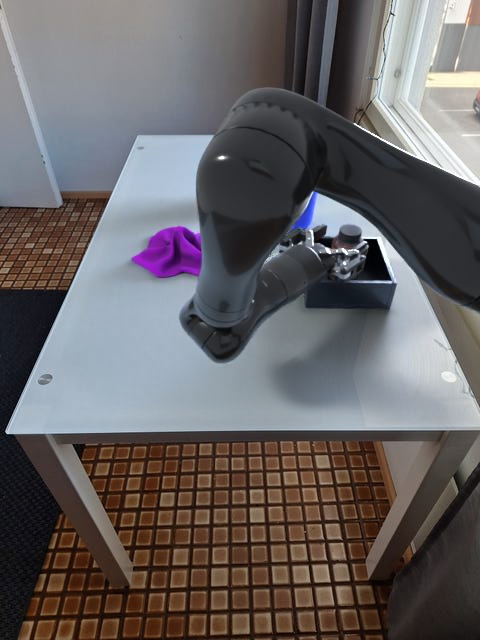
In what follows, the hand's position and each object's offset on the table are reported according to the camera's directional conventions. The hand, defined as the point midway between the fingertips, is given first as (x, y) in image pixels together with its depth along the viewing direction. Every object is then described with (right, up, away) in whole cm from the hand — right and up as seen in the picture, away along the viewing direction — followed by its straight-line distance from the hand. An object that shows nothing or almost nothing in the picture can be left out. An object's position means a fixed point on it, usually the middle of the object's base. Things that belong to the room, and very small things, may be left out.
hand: (344, 237), depth 84 cm
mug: (-6, +6, +25) cm, 27 cm away
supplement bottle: (+1, -7, +8) cm, 11 cm away
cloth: (-30, -1, +17) cm, 34 cm away
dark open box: (+1, -8, +9) cm, 12 cm away
